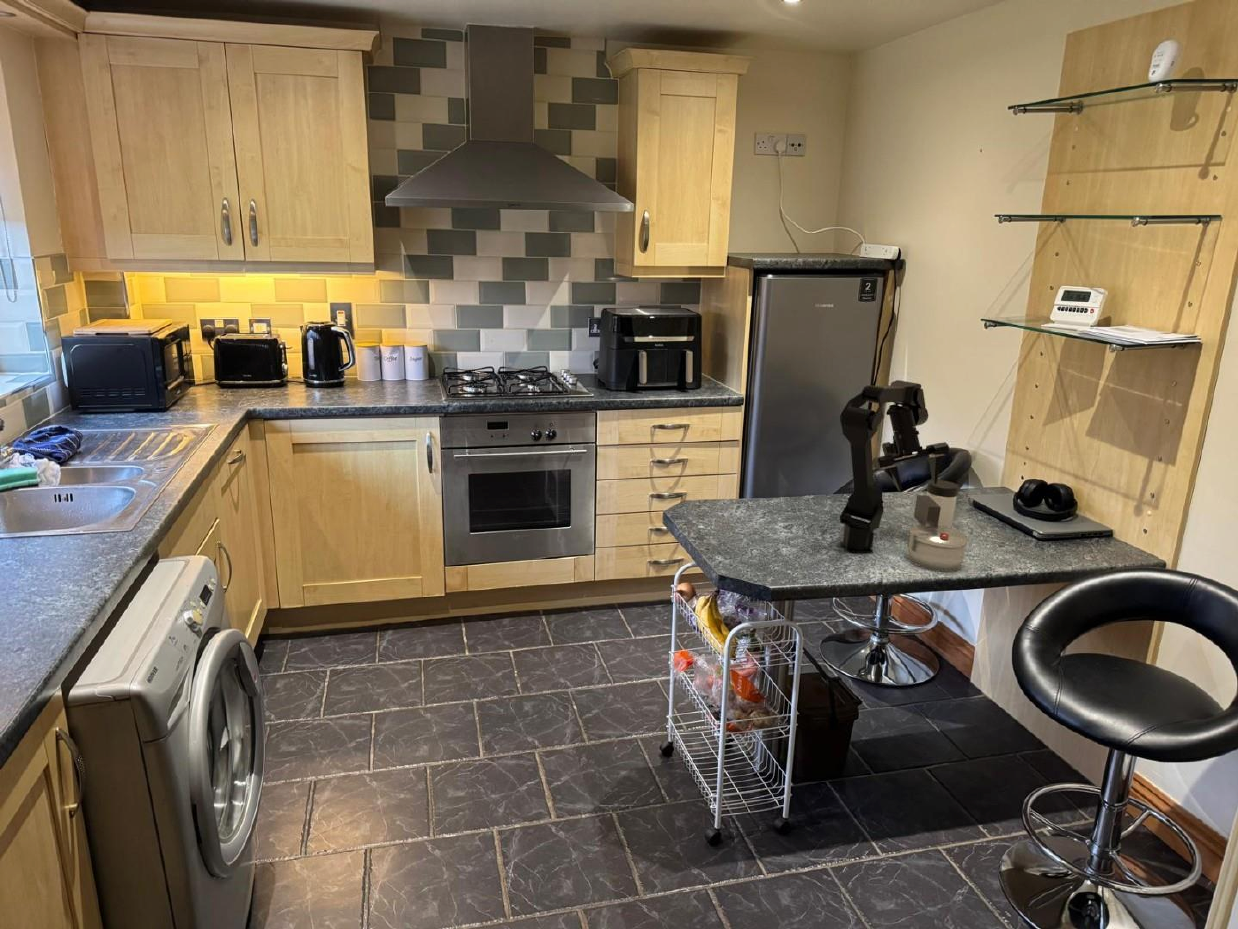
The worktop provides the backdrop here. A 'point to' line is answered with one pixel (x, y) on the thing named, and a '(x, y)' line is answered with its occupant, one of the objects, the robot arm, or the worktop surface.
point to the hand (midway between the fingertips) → (918, 488)
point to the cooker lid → (934, 526)
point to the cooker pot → (935, 556)
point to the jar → (944, 500)
